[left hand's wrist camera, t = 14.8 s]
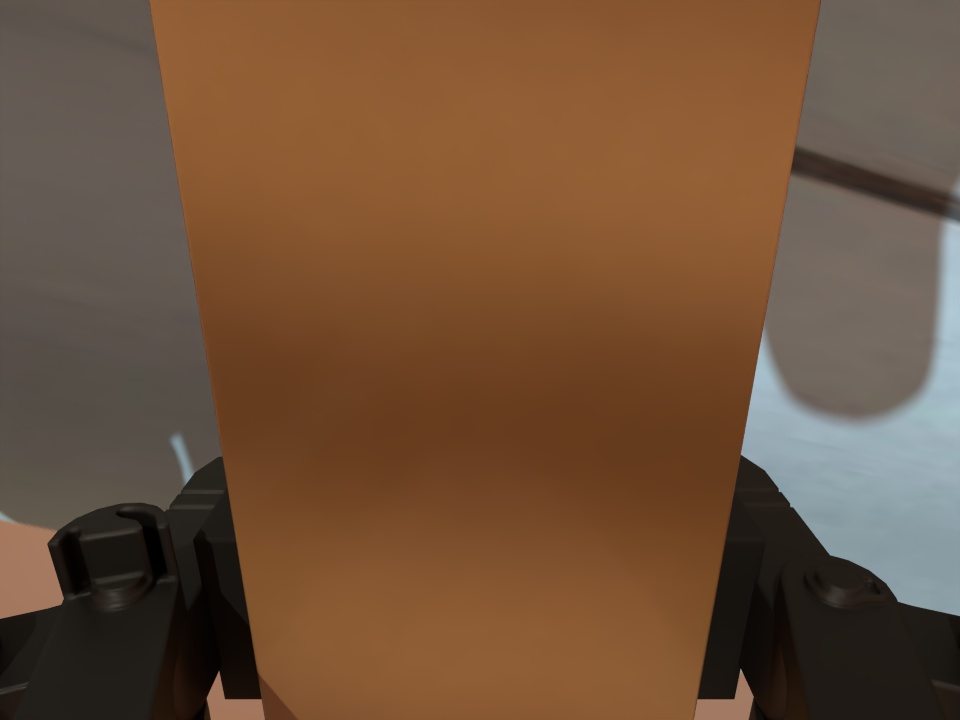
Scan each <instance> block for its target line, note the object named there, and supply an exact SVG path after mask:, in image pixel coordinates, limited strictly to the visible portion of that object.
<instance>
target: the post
mask: <svg viewBox="0 0 960 720" xmlns="http://www.w3.org/2000/svg"><path fill="white" fill-rule="evenodd" d="M149 3H150V10H151V16H152V22H153V28H154V34H155V41H156V47H157V53H158V59H159V65H160V72H161V78H162V84H163V90H164V96H165V102H166V109H167V115H168V121H169V127H170V133H171V140H172V146H173V152H174V158H175V164H176V171H177V177H178V183H179V189H180V195H181V202H182V208H183V214H184V220H185V226H186V233H187V239H188V245H189V251H190V257H191V264H192V270H193V276H194V282H195V288H196V295H197V301H198V307H199V313H200V319H201V326H202V332H203V338H204V344H205V350H206V357H207V363H208V369H209V375H210V381H211V388H212V394H213V400H214V406H215V412H216V419H217V425H218V431H219V437H220V443H221V450H222V456H223V462H224V468H225V474H226V481H227V487H228V493H229V499H230V505H231V511H232V518H233V524H234V530H235V536H236V542H237V549H238V555H239V561H240V567H241V573H242V580H243V586H244V592H245V598H246V604H247V611H248V617H249V623H250V629H251V635H252V642H253V648H254V654H255V660H256V666H257V673H258V679H259V685H260V691H261V697H262V703H263V710H264V716H265V720H694V716H695V710H696V704H697V699H698V693H699V687H700V682H701V676H702V670H703V665H704V659H705V653H706V648H707V642H708V636H709V631H710V625H711V619H712V614H713V608H714V602H715V597H716V591H717V586H718V580H719V574H720V569H721V563H722V557H723V552H724V546H725V540H726V535H727V529H728V523H729V518H730V512H731V506H732V501H733V495H734V489H735V484H736V478H737V472H738V467H739V461H740V455H741V450H742V444H743V438H744V433H745V427H746V422H747V416H748V410H749V405H750V399H751V393H752V388H753V382H754V376H755V371H756V365H757V359H758V354H759V348H760V342H761V337H762V331H763V325H764V320H765V314H766V308H767V303H768V297H769V291H770V286H771V280H772V274H773V269H774V263H775V257H776V252H777V246H778V241H779V235H780V229H781V224H782V218H783V212H784V207H785V201H786V195H787V190H788V184H789V178H790V173H791V167H792V161H793V156H794V150H795V144H796V139H797V133H798V127H799V122H800V116H801V110H802V105H803V99H804V93H805V88H806V82H807V76H808V71H809V65H810V60H811V54H812V48H813V43H814V37H815V31H816V26H817V20H818V14H819V9H820V3H821V0H149Z"/></svg>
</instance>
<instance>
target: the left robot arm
mask: <svg viewBox="0 0 960 720" xmlns="http://www.w3.org/2000/svg"><path fill="white" fill-rule="evenodd" d="M778 489H779V488H778V487H777V486H776V485H775V483H774V482H773V481H772V479H771V478H770V477H769V475H768V474H767V473H766V472H765V470H763V469H762V468H760V467H759V466H757V465H756V464H754V463H753V462H751V461H749V460H748V459H746V458H745V457H743V456H742V455H740V461H739V467H738V472H737V478H736V484H735V489H734V495H733V501H732V506H731V512H730V518H729V523H728V529H727V535H726V540H725V546H724V552H723V557H722V563H721V569H720V574H719V580H718V586H717V591H716V597H715V602H714V608H713V614H712V619H711V625H710V631H709V636H708V642H707V648H706V653H705V659H704V665H703V670H702V676H701V682H700V687H699V693H698V699H734V698H735V693H736V688H737V683H738V679H739V674H740V669H741V670H742V672H743V674H744V676H745V678H746V681H747V683H748V685H749V687H750V689H751V691H752V694H753V696H754V698H753V702H752V707H751V712H750V716H749V720H960V616H957V615H952V614H947V613H943V612H938V611H933V610H929V609H924V608H920V607H915V606H911V605H907V604H904V603H900V602H898V601H897V599H896V597H895V596H894V594H893V593H892V591H891V590H890V588H889V587H888V586H887V584H886V583H885V582H883V581H882V580H881V579H880V578H878V577H877V576H876V575H874V574H873V573H872V572H871V571H869V570H867V569H865V568H863V567H861V566H859V565H857V564H855V563H853V562H851V561H849V560H845V559H842V558H838V557H834V556H831V555H829V554H828V552H827V551H826V550H825V548H824V547H823V546H822V544H821V543H820V542H819V541H818V539H817V538H816V537H815V535H814V534H813V533H812V531H811V530H810V529H809V528H808V526H807V525H806V524H805V522H804V521H803V520H802V518H801V517H800V516H799V515H798V513H797V512H796V511H795V509H794V508H793V507H790V503H789V501H788V500H787V499H786V498H785V496H784V495H783V494H782V492H779V490H778ZM48 548H49V551H50V554H51V558H52V561H53V564H54V567H55V571H56V574H57V577H58V581H59V584H60V587H61V590H62V594H63V597H64V600H63V602H62V605H59V606H55V607H52V608H48V609H44V610H39V611H35V612H30V613H25V614H21V615H16V616H12V617H7V618H2V619H0V720H211V719H210V712H209V707H208V703H207V696H208V694H209V691H210V689H211V687H212V685H213V683H214V681H215V678H216V676H217V674H218V672H219V671H220V676H221V681H222V686H223V691H224V696H225V699H262V697H261V691H260V685H259V679H258V673H257V666H256V660H255V654H254V648H253V642H252V635H251V629H250V623H249V617H248V611H247V604H246V598H245V592H244V586H243V580H242V573H241V567H240V561H239V555H238V549H237V542H236V536H235V530H234V524H233V518H232V511H231V505H230V499H229V493H228V487H227V481H226V474H225V468H224V462H223V457H218V458H216V459H215V460H213V461H212V462H210V463H209V464H207V465H206V466H204V467H203V468H201V469H200V470H198V471H197V472H195V473H194V475H193V476H192V477H191V479H190V480H189V481H188V483H187V484H186V485H185V486H184V488H183V489H182V490H181V494H178V496H177V497H176V498H175V500H174V501H173V502H172V504H171V505H170V509H169V510H166V511H165V512H164V511H163V510H161V509H160V508H159V507H157V506H154V505H149V504H145V503H126V504H117V505H113V506H109V507H105V508H101V509H97V510H95V511H93V512H90V513H88V514H85V515H83V516H81V517H78V518H76V519H75V520H73V521H72V522H70V523H69V524H67V525H66V526H64V527H63V528H61V529H60V530H58V532H57V533H56V534H55V535H54V536H53V538H52V539H51V540H50V541H49V542H48Z"/></svg>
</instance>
